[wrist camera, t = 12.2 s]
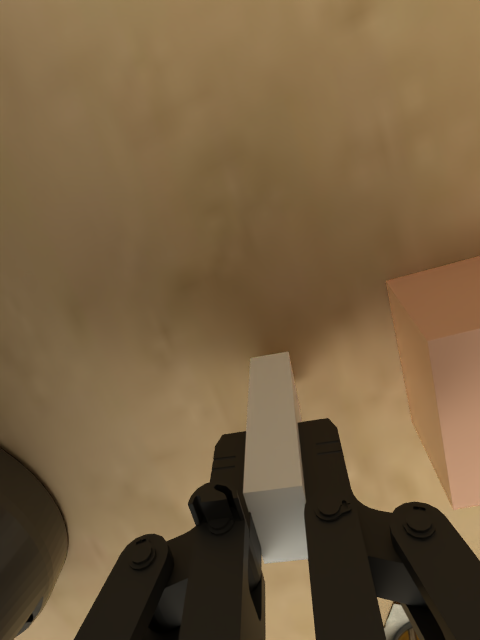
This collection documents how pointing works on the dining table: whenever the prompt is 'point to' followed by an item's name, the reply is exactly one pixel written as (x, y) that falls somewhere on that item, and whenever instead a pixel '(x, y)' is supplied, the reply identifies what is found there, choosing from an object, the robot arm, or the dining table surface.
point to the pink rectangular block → (443, 369)
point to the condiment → (399, 625)
